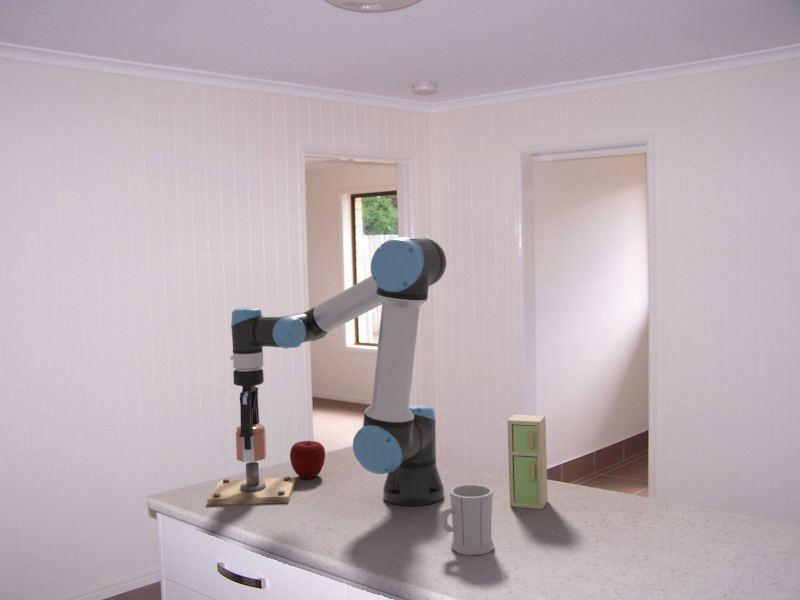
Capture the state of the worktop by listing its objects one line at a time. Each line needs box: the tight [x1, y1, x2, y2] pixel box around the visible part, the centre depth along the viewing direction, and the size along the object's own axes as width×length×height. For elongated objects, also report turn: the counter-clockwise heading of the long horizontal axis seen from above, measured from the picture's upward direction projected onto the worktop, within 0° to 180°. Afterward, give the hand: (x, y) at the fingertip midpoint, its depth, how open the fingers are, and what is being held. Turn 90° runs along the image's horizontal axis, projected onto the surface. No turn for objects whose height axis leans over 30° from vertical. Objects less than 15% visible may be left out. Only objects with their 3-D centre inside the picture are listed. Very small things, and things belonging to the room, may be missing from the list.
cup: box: [439, 484, 495, 556], centre depth 160 cm, size 10×9×12 cm
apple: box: [289, 440, 326, 479], centre depth 214 cm, size 10×10×10 cm
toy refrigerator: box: [507, 413, 549, 510], centre depth 186 cm, size 8×7×21 cm
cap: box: [235, 423, 267, 463], centre depth 200 cm, size 7×7×8 cm
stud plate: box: [206, 461, 296, 506], centre depth 201 cm, size 20×16×8 cm
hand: (251, 457), depth 200 cm, fingers closed on cap, 7 cm apart
